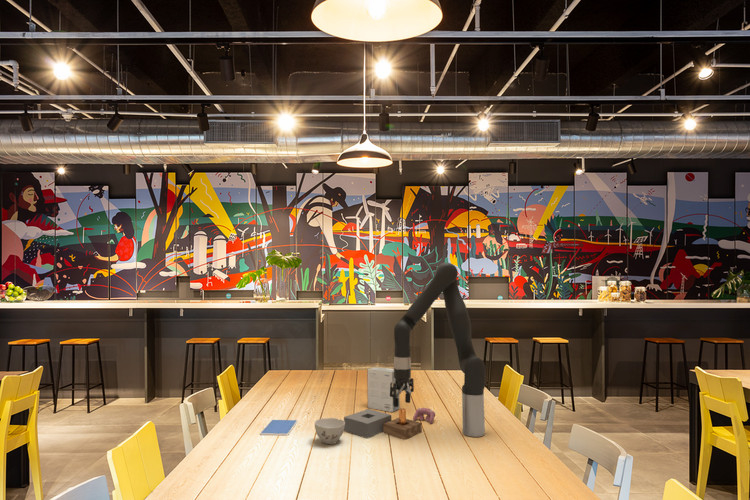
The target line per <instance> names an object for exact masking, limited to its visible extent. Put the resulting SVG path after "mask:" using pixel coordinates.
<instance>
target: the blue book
mask: <svg viewBox="0 0 750 500" xmlns="http://www.w3.org/2000/svg"><path fill="white" fill-rule="evenodd" d="M297 424H298V420H297V419H288V420H287V419H272V420H270V422H269V423H268V424H267V425H266V426H265V427H264V428H263V429H262V431H260V433H259V435H260V436H271V437H273V436H276V437H277V436H281V437H283V436H289V435H290V433H291V432H292V431H293V428H294V427H295V426H296V425H297Z"/></svg>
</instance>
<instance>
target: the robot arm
mask: <svg viewBox="0 0 750 500" xmlns="http://www.w3.org/2000/svg"><path fill="white" fill-rule="evenodd" d="M458 275H459V273H458V268H457V267H456V266H455V265H454V264H452V263H451V262H442V263H440V264H439V265H438V266H437V268H436V270H435V275H434V276H433V278H432V280H431V282H430V283H429V284H428V285H427V286H426V288H425V289H424V290H423V291H422V292H421V293H420V295H418V296H417V298H416V299H414V301H413V302H412V303H411V305H410V306H409V308H408V309H407V311H406V312H405V313H404V315H403V316H402V317H401V318H400V320H398V322H397V323H396V324H395V325H394V328H393V335H394V336H393V338H394V359H393V369H394V378H395V379H396V380H395V383H392V382H391V383H390V397H393V405H394V407H398V406H399V398H400V394H402V392H405V394H404V395H405V403H407V404H410V403H411V394H412V393H413V392H414V390H415V386H414V385H415V383H414V378H412V373H411V372H412V367H411V366H412V365H411V364H412V360H411V345H410V343H411V342H410V341H411V332H412V331H413V329H414V328H415V326H416V325H417V323H418V322H419V321H420V320H422V318H424V316H425V314H427V312H428V311H429V309H430V308H431V306H432V305H433V304H434V302H436V300H437V298H438V297H439V296H440V295H441V294H442V295H443V301H444V306H445V312H446V317H447V320H448V323H449V327H450V331H451V334H452V337H453V340H454V344H455V347H456V351H457V357H458V364H459V369H460V370H461V372H462V373H463V375H464V376H463V377H464V379H463V380H464V381H463V382H464V383H463V385H462V386H461V398H462V399H461V400H462V402H461V403H462V404H461V408H462V409H461V411H462V415H461V417H462V420H461V421H462V434H463V435H465V436H467V437H472V438H479V437H483V436H485V433H486V432H485V431H486V427H485V418H486V417H485V397H484V393H485V392H484V390H485V387H486V365H485V362H484V360H483V359H482V358H480V357H479V356H477V354H476V351H475V349H474V345H473V342H472V324H471V318H470V316H469V311H468V309H467V306H466V303H465V301H464V298H463V296H462V295H461V292H460V288H459V283H458V279H457V278H458ZM392 391H393V392H394V393H393V394H392ZM396 393H397V395H396ZM398 397H399V398H398Z"/></svg>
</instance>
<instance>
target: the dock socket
mask: <svg viewBox="0 0 750 500" xmlns="http://www.w3.org/2000/svg"><path fill="white" fill-rule="evenodd" d="M343 420H344V421H345V427H344V431H343V432H347V433H350V434H353V435H355V436H359V437H362V438H365V439H370V438H372V437H374V436H377V435H380V434H383V424H384V423H386V422H389V421H392V414H389V413H385V412H382V411H378V410H375V409H371V408H367V409H364V410H361V411H358V412H355V413H352V414H349V415H346V416H344V417H343Z"/></svg>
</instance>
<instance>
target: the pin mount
mask: <svg viewBox="0 0 750 500" xmlns="http://www.w3.org/2000/svg"><path fill="white" fill-rule="evenodd" d="M422 432H423V423H422V422H421V421H417V420H416V421H413V419H408V418H406V425H404V426H403V425H399V417H397V418H394V419H391V421H389V422H386V423H384V424H383V432H382V434H385V435H388V436H391V437H394V438H398V439H401V440H407V439H410V438H412V437H415V436H416V435H418V434H421V433H422Z"/></svg>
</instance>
